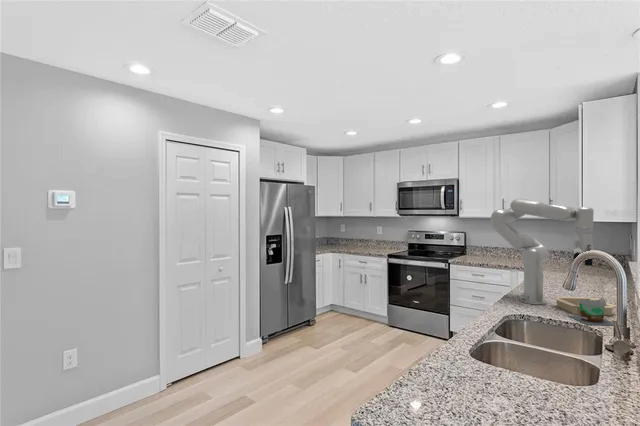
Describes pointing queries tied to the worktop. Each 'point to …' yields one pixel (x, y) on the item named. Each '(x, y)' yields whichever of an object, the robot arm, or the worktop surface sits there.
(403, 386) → the worktop surface
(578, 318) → the mat
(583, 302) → the food container
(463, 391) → the worktop surface
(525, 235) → the robot arm
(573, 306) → the tan square tray
